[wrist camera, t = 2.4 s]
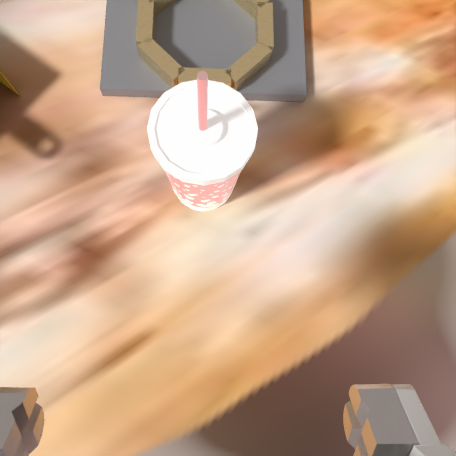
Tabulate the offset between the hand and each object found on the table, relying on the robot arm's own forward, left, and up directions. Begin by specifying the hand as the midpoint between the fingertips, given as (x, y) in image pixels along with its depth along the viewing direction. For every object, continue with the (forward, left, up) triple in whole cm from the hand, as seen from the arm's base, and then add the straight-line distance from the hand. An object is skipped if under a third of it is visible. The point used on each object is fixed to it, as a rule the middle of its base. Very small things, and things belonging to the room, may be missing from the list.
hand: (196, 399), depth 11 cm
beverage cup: (0, +12, -19) cm, 22 cm away
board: (0, +24, -18) cm, 31 cm away
